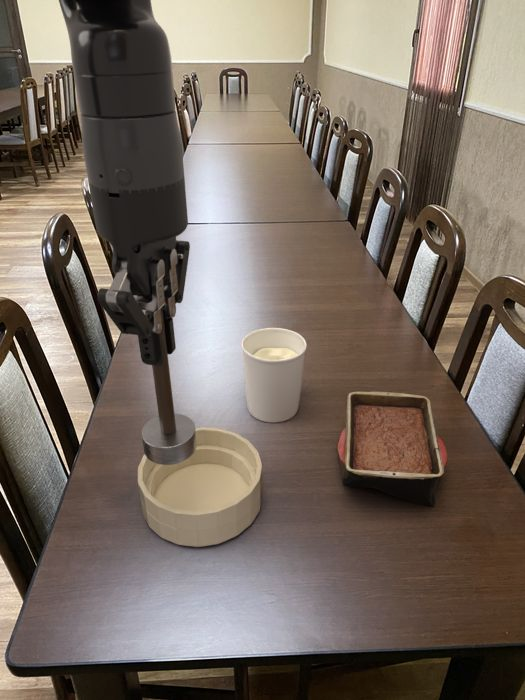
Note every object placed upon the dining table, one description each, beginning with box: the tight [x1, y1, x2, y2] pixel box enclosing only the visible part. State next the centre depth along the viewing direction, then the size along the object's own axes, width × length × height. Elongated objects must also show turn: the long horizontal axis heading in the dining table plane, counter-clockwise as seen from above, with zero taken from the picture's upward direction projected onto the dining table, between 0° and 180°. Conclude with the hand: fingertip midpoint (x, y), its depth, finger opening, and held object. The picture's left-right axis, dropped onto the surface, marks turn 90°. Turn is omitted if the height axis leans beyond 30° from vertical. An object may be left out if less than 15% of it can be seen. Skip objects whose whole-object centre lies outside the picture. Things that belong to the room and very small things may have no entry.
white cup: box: [240, 327, 308, 424], centre depth 84 cm, size 10×10×12 cm
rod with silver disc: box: [141, 308, 197, 465], centre depth 53 cm, size 6×6×16 cm
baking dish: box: [336, 390, 448, 508], centre depth 73 cm, size 14×18×10 cm
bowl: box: [137, 426, 263, 548], centre depth 68 cm, size 15×15×6 cm
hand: (159, 357), depth 52 cm, fingers closed on rod with silver disc
